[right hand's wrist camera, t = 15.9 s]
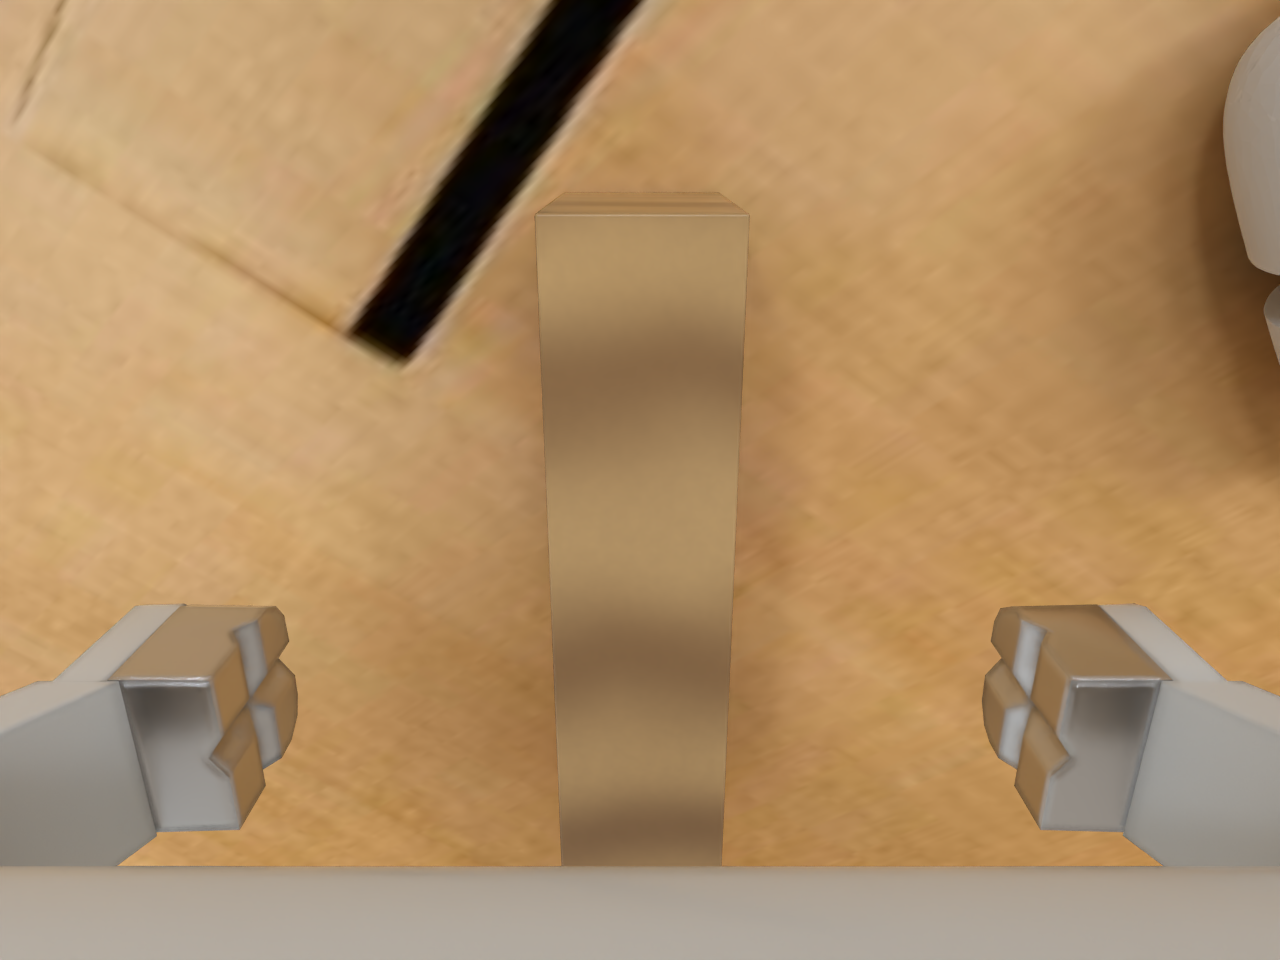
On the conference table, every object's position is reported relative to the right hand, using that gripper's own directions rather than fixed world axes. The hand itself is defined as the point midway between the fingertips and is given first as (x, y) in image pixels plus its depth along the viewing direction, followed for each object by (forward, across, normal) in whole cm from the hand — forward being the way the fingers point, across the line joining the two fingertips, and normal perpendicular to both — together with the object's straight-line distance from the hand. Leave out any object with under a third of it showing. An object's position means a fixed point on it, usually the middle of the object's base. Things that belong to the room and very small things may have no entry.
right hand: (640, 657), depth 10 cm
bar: (+24, 0, -9) cm, 26 cm away
